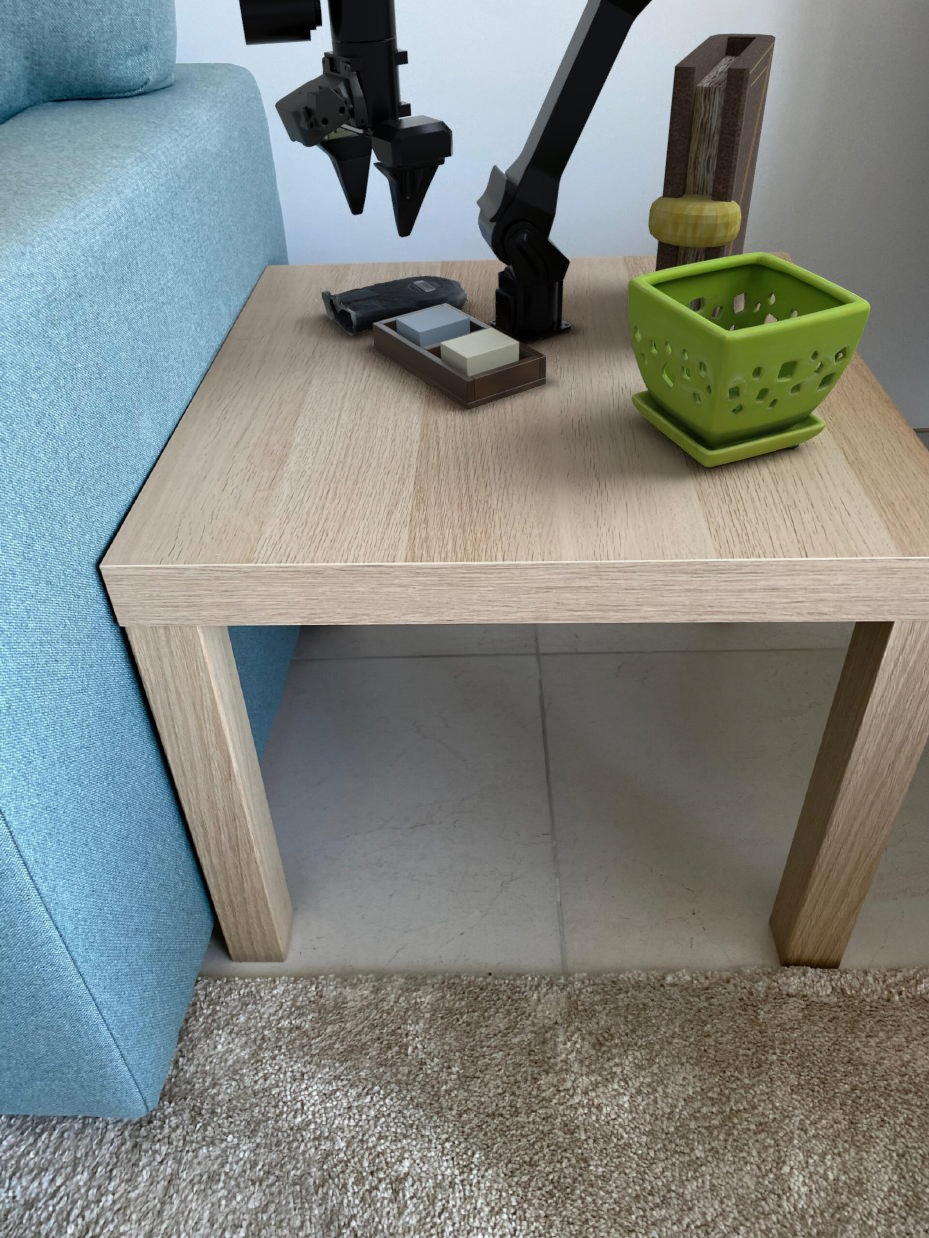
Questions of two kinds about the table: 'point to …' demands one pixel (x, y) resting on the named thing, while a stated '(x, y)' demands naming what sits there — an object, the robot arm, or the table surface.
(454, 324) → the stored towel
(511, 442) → the table surface
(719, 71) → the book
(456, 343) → the cream rectangular block
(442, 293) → the electronic device
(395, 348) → the shallow rectangular tray
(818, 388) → the flower pot
